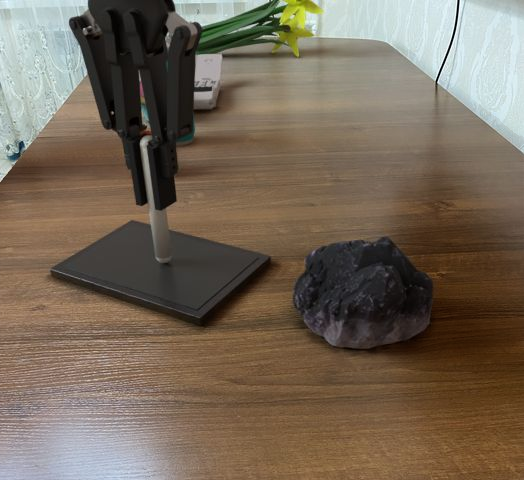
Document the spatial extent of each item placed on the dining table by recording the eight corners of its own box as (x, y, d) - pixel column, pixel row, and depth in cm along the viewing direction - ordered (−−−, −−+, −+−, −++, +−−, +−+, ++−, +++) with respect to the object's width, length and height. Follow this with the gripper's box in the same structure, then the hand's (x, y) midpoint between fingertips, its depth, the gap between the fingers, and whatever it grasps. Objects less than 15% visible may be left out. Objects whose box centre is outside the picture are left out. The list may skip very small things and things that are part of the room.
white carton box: (222, 52, 129) (211, 82, 109) (224, 82, 133) (214, 115, 113) (194, 53, 130) (178, 83, 110) (197, 83, 133) (181, 116, 113)
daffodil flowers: (201, 51, 162) (329, 10, 155) (204, 93, 157) (337, 53, 149) (175, -3, 147) (316, -51, 139) (178, 42, 142) (325, -6, 134)
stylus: (152, 263, 67) (134, 137, 58) (163, 256, 68) (146, 131, 60) (166, 267, 66) (149, 139, 58) (176, 260, 67) (161, 134, 59)
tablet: (51, 276, 67) (49, 268, 66) (133, 226, 77) (131, 218, 76) (200, 326, 59) (200, 317, 58) (271, 263, 69) (270, 255, 68)
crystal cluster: (320, 276, 67) (313, 193, 61) (445, 290, 63) (452, 201, 56) (277, 352, 58) (263, 264, 52) (419, 375, 53) (424, 280, 47)
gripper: (223, -77, 48) (236, 203, 62) (83, -78, 54) (124, 178, 68) (165, -72, 43) (194, 232, 57) (18, -73, 49) (77, 202, 63)
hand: (156, 202), depth 63 cm, fingers closed on stylus, 2 cm apart
